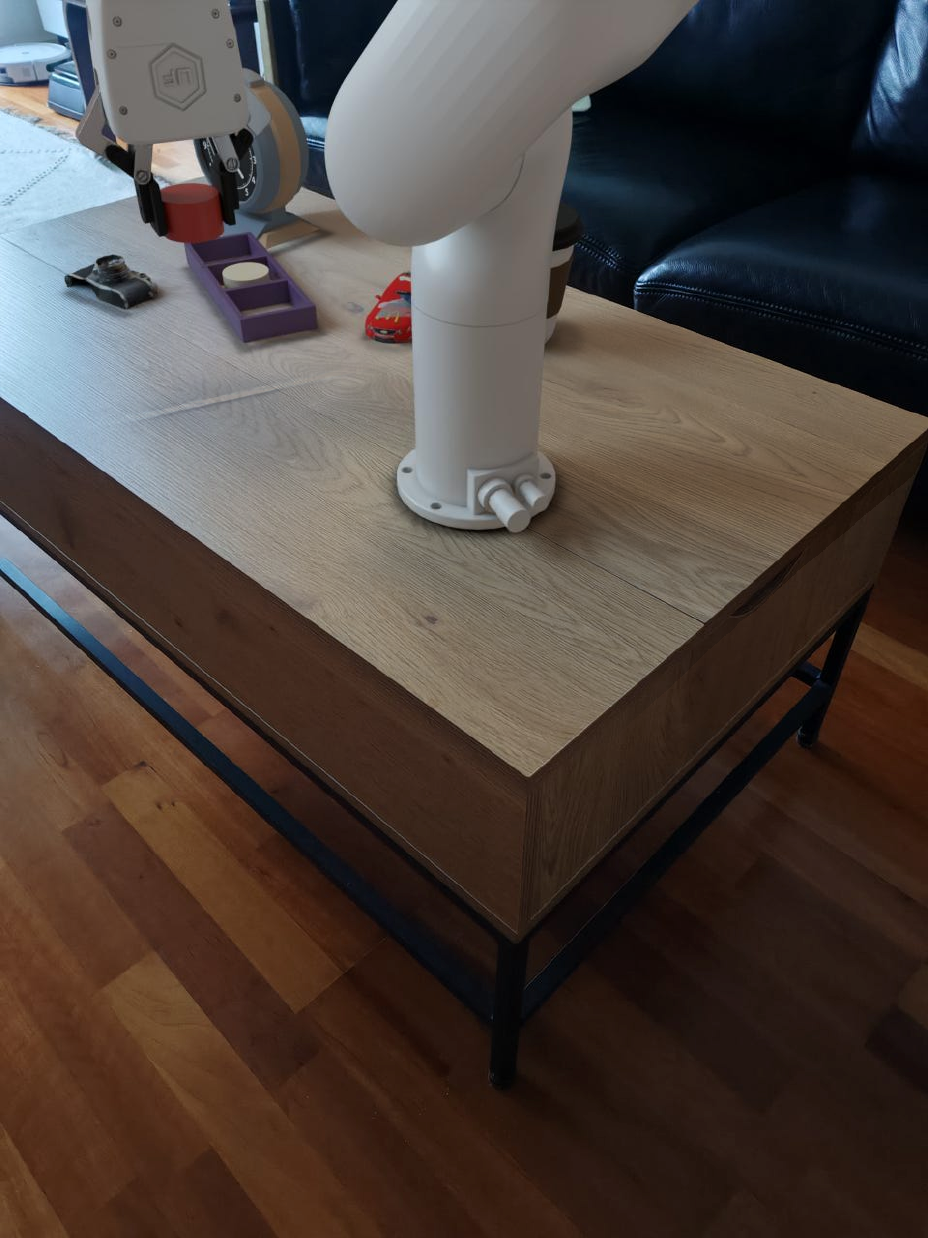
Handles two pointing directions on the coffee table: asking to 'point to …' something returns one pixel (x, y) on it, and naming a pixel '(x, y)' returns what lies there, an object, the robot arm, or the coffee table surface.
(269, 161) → the alarm clock
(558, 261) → the coffee cup
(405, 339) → the race car
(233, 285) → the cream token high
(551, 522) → the coffee table surface
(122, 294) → the camera
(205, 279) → the board
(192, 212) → the cylinder
